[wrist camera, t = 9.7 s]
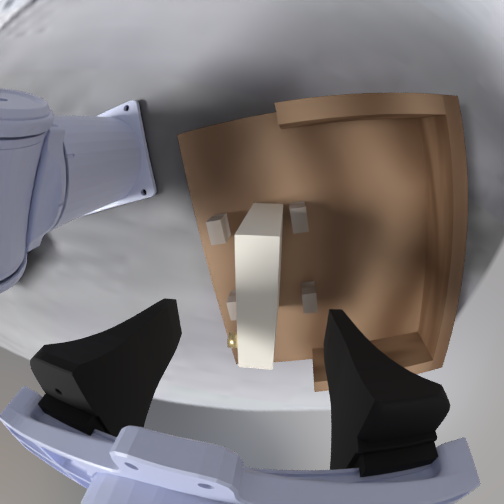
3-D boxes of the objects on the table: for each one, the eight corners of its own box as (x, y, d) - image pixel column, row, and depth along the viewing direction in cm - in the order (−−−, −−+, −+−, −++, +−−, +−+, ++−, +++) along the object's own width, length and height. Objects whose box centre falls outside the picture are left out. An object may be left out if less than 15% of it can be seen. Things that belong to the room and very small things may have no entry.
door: (243, 303, 22) (224, 365, 16) (242, 202, 19) (216, 233, 13) (278, 306, 22) (272, 369, 15) (283, 203, 19) (279, 236, 12)
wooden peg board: (238, 355, 26) (228, 395, 21) (183, 134, 19) (151, 133, 14) (422, 331, 22) (441, 367, 18) (422, 104, 16) (457, 96, 11)
